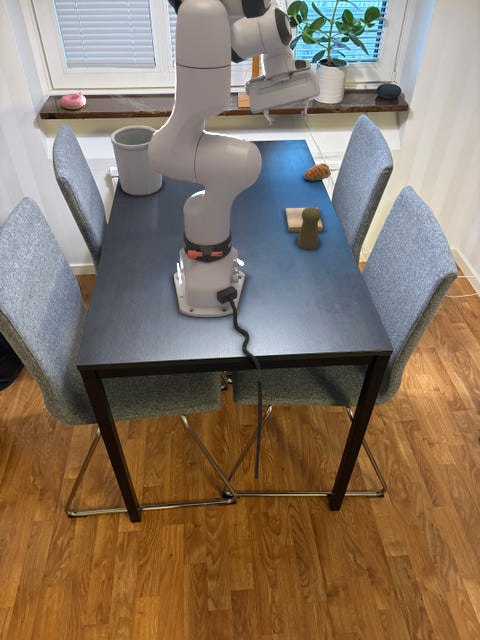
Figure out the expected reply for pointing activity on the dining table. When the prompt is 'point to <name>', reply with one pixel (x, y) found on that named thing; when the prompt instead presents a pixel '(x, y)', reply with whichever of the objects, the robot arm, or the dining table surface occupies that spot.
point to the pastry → (317, 172)
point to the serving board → (297, 219)
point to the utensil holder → (135, 160)
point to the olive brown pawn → (309, 228)
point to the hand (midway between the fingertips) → (288, 121)
